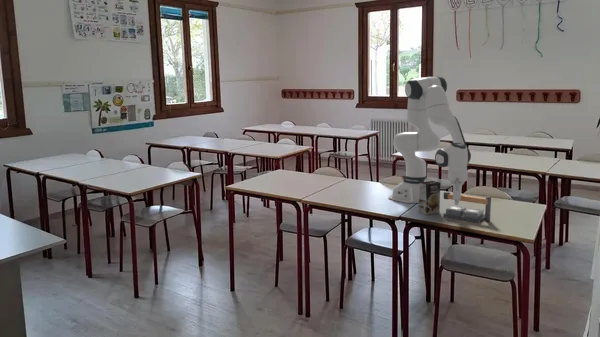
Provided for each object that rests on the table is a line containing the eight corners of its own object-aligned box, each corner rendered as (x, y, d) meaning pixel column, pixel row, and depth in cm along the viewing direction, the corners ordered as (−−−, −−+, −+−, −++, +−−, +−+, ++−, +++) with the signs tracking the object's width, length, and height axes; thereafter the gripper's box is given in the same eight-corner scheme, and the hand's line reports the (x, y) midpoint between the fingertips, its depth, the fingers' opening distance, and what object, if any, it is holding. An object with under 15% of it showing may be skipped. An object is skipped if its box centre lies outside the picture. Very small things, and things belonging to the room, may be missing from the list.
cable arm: (491, 219, 249) (492, 196, 247) (488, 221, 247) (489, 198, 244) (444, 212, 264) (445, 190, 261) (442, 213, 261) (442, 191, 259)
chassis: (443, 216, 257) (443, 208, 257) (451, 211, 265) (451, 204, 264) (478, 222, 246) (479, 214, 246) (485, 217, 254) (486, 209, 253)
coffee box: (426, 215, 260) (427, 184, 257) (418, 212, 266) (418, 182, 263) (440, 212, 264) (441, 182, 261) (431, 209, 270) (432, 180, 267)
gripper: (464, 181, 236) (463, 210, 239) (464, 172, 255) (463, 199, 258) (450, 181, 238) (449, 209, 241) (451, 172, 257) (450, 198, 260)
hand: (456, 204), depth 250 cm, fingers closed
